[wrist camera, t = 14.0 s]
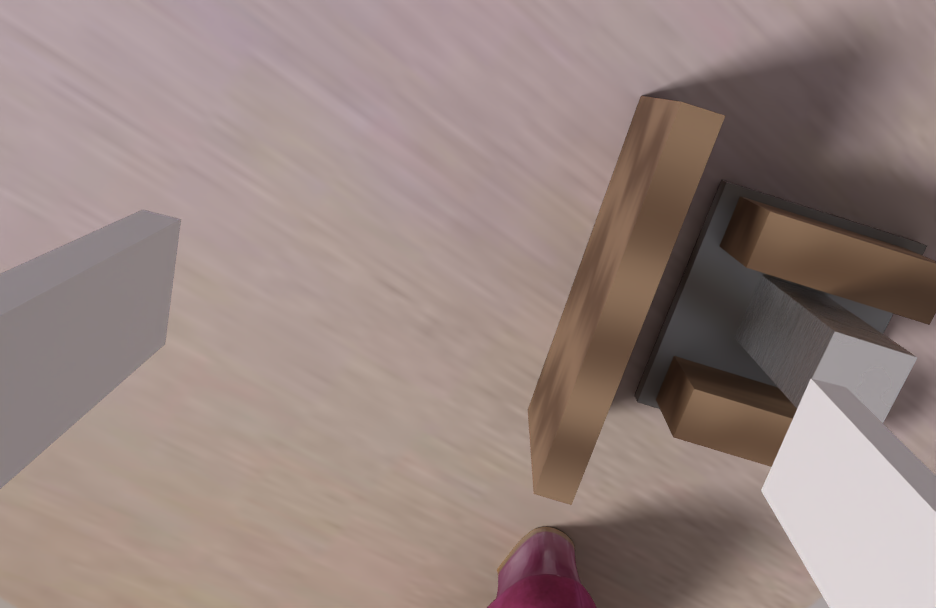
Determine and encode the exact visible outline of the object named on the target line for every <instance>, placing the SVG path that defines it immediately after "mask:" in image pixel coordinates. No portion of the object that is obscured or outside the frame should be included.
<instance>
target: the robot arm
mask: <svg viewBox="0 0 936 608" xmlns="http://www.w3.org/2000/svg"><path fill="white" fill-rule="evenodd" d="M180 223H181V219H178V218H174V217H170V216H166V215H162V214H158V213H154V212H150V211H146V210H141V211H139V212H136V213H134V214H132V215H130V216H128V217H125V218H123V219H121V220H119V221H116V222H114V223H112V224H110V225H108V226H105V227H103V228H101V229H99V230H96V231H94V232H92V233H90V234H88V235H85V236H83V237H81V238H79V239H76V240H74V241H72V242H70V243H68V244H65V245H63V246H61V247H59V248H56V249H54V250H52V251H50V252H48V253H45V254H43V255H41V256H39V257H36V258H34V259H32V260H30V261H28V262H25V263H23V264H21V265H19V266H16V267H14V268H12V269H10V270H8V271H5V272H3V273H1V274H0V489H1V488H2V487H3V486H4V485H5V484H6V483H8V482H9V481H10V480H11V479H12V478H13V477H14V476H16V475H17V474H18V473H19V472H20V471H21V470H22V469H24V468H25V467H26V466H27V465H28V464H29V463H30V462H32V461H33V460H34V459H35V458H36V457H37V456H38V455H39V454H41V453H42V452H43V451H44V450H45V449H46V448H47V447H49V446H50V445H51V444H52V443H53V442H54V441H55V440H57V439H58V438H59V437H60V436H61V435H62V434H63V433H65V432H66V431H67V430H68V429H69V428H70V427H71V426H72V425H74V424H75V423H76V422H77V421H78V420H79V419H80V418H82V417H83V416H84V415H85V414H86V413H87V412H88V411H90V410H91V409H92V408H93V407H94V406H95V405H96V404H98V403H99V402H100V401H101V400H102V399H103V398H104V397H105V396H107V395H108V394H109V393H110V392H111V391H112V390H113V389H115V388H116V387H117V386H118V385H119V384H120V383H121V382H123V381H124V380H125V379H126V378H127V377H128V376H129V375H131V374H132V373H133V372H134V371H135V370H136V369H137V368H138V367H140V366H141V365H142V364H143V363H144V362H145V361H146V360H148V359H149V358H150V357H151V356H152V355H153V354H154V353H156V352H157V351H158V350H159V349H160V348H161V347H162V346H164V345H165V341H166V333H167V325H168V317H169V309H170V302H171V294H172V286H173V278H174V270H175V262H176V254H177V247H178V239H179V231H180ZM761 491H762V493H763V495H764V496H765V498H766V500H767V502H768V503H769V505H770V507H771V508H772V510H773V512H774V513H775V515H776V517H777V519H778V520H779V522H780V524H781V525H782V527H783V529H784V531H785V532H786V534H787V536H788V537H789V539H790V541H791V543H792V544H793V546H794V548H795V549H796V551H797V553H798V554H799V556H800V558H801V560H802V561H803V563H804V565H805V566H806V568H807V570H808V572H809V573H810V575H811V577H812V578H813V580H814V582H815V584H816V585H817V587H818V589H819V590H820V592H821V594H822V595H823V597H824V599H825V601H826V602H827V604H828V606H829V607H830V608H936V475H935V474H934V473H933V472H932V471H931V470H930V469H929V468H927V467H926V466H925V465H924V464H923V463H922V462H921V461H920V460H919V459H918V458H917V457H916V456H915V455H914V454H913V453H912V452H911V451H910V450H909V449H908V448H907V447H906V446H905V445H904V444H903V443H902V442H901V441H900V440H899V439H898V438H897V437H896V436H895V435H894V434H893V433H892V432H891V431H890V430H889V429H888V428H887V427H886V426H885V425H884V424H883V423H882V422H881V421H880V420H879V419H878V418H877V417H876V416H875V415H874V414H873V413H872V412H871V411H870V410H869V409H868V408H867V407H866V406H865V405H864V404H863V403H862V402H861V401H860V400H859V399H858V398H857V397H855V396H854V395H853V394H852V393H851V392H850V391H849V390H848V389H847V388H846V387H843V386H839V385H835V384H831V383H827V382H823V381H819V380H815V379H810V381H809V383H808V386H807V388H806V390H805V393H804V395H803V397H802V399H801V402H800V404H799V406H798V408H797V411H796V413H795V415H794V417H793V420H792V422H791V424H790V427H789V429H788V431H787V433H786V436H785V438H784V440H783V442H782V445H781V447H780V449H779V451H778V454H777V456H776V458H775V460H774V463H773V465H772V467H771V470H770V472H769V474H768V476H767V479H766V481H765V483H764V485H763V488H762V490H761Z"/></svg>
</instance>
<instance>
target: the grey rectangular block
mask: <svg viewBox="0 0 936 608" xmlns="http://www.w3.org/2000/svg"><path fill="white" fill-rule="evenodd" d="M734 338H735V339H736V340H737V341H738V342H739V343H740V345H741V346H742V347H743V348H744V349H745V350H746V351H747V352H748V354H749V355H750V356H751V357H752V358H753V359H754V360H755V362H756V363H757V364H758V365H759V366H760V367H761V368H762V370H763V371H764V372H765V373H766V374H767V375H768V376H769V377H770V379H771V380H772V381H773V382H774V383H775V384H776V385H777V387H778V388H779V389H780V390H781V391H782V392H783V393H784V395H785V396H786V397H787V398H788V399H789V400H790V401H791V402H792V404H793V405H794V406H795V407H796V408H798V406H799V404H800V402H801V399H802V397H803V395H804V393H805V390H806V388H807V386H808V383H809V381H810V379H815V380H819V381H823V382H827V383H831V384H835V385H839V386H843V387H846V388H847V389H848V390H849V391H850V392H851V393H852V394H853V395H854V396H855V397H857V398H858V399H859V400H860V401H861V402H862V403H863V404H864V405H865V406H866V407H867V408H868V409H869V410H870V411H871V412H872V413H873V414H874V415H875V416H876V417H877V418H878V419H879V420H880V421H881V422H882V423H883V422H884V420H885V418H886V416H887V415H888V413H889V411H890V409H891V407H892V405H893V403H894V401H895V399H896V397H897V396H898V394H899V392H900V390H901V388H902V386H903V384H904V382H905V380H906V378H907V377H908V375H909V373H910V371H911V369H912V367H913V365H914V363H915V361H916V359H917V357H916V356H914V355H913V354H912V353H910V352H909V351H907V350H906V349H904V348H903V347H901V346H900V345H898V344H897V343H895V342H894V341H892V340H891V339H890V338H888V337H887V336H885V335H884V334H882V333H881V332H879V331H878V330H876V329H875V328H873V327H872V326H870V325H869V324H868V323H866V322H865V321H863V320H862V319H860V318H859V317H857V316H856V315H854V314H853V313H851V312H850V311H848V310H847V309H845V308H844V307H843V306H841V305H840V304H838V303H837V302H835V301H834V300H832V299H831V298H829V297H828V296H826V295H823V294H820V293H816V292H813V291H810V290H807V289H804V288H801V287H798V286H794V285H791V284H788V283H785V282H782V281H779V280H775V279H772V278H769V277H766V276H763V275H762V276H761V279H760V281H759V283H758V285H757V288H756V290H755V292H754V294H753V297H752V299H751V301H750V303H749V306H748V308H747V310H746V313H745V315H744V317H743V319H742V322H741V324H740V326H739V328H738V331H737V333H736V335H735V337H734Z"/></svg>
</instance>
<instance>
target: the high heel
mask: <svg viewBox="0 0 936 608" xmlns="http://www.w3.org/2000/svg"><path fill="white" fill-rule="evenodd" d="M497 572H498V592H497V597H496V599H495V600H494V601H493V602H492V603H491V604H490V605H489V606H488V607H487V608H596V606H595V603H594V601H593V600H592V598H591V596H590V595H589V593H588V592H587V590H586V589H585V588H584V586H583V585H582V584H581V582H580V579H579V576H578V572H577V568H576V562H575V548H574V544H573V542H572V540H571V539H570V538H569V537H568V536H567V535H566V534H565V533H563V532H561V531H559V530H557V529H555V528H551V527H540V528H536V529H534V530H532V531H531V532H529V533H528V534H527V535H526V536H524V537H523V538H522V539H521V540H520V542H519V543H518V544H517V545H516V546H515V547H514V548H513V550H512V551H511V552H510V553H509V555H508V556H507V557H506V558H505V560H504V561H503V562H502V564H501V565H500V566H499V568H498V569H497Z"/></svg>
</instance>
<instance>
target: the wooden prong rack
mask: <svg viewBox="0 0 936 608" xmlns="http://www.w3.org/2000/svg"><path fill="white" fill-rule="evenodd" d="M724 118H725V115H721V114H718V113H715V112H712V111H709V110H706V109H703V108H700V107H697V106H693V105H690V104H687V103H684V102H680V101H673V100H666V99H659V98H653V97H646V96H641V97H640V100H639V103H638V105H637V108H636V111H635V114H634V116H633V119H632V122H631V125H630V128H629V130H628V133H627V136H626V139H625V141H624V144H623V147H622V150H621V153H620V155H619V158H618V161H617V164H616V166H615V169H614V172H613V175H612V178H611V180H610V183H609V186H608V189H607V191H606V194H605V197H604V200H603V203H602V205H601V208H600V211H599V214H598V216H597V219H596V222H595V225H594V228H593V230H592V233H591V236H590V239H589V241H588V244H587V247H586V250H585V253H584V255H583V258H582V261H581V264H580V266H579V269H578V272H577V275H576V278H575V280H574V283H573V286H572V289H571V291H570V294H569V297H568V300H567V303H566V305H565V308H564V311H563V314H562V316H561V319H560V322H559V325H558V328H557V330H556V333H555V336H554V339H553V341H552V344H551V347H550V350H549V353H548V355H547V358H546V361H545V364H544V366H543V369H542V372H541V375H540V378H539V380H538V383H537V386H536V389H535V391H534V394H533V397H532V400H531V403H530V405H529V408H528V419H529V433H530V447H531V462H532V476H533V490H534V494H536V495H540V496H543V497H546V498H550V499H553V500H556V501H560V502H563V503H567V504H570V505H572V502H573V500H574V497H575V495H576V492H577V490H578V487H579V484H580V482H581V479H582V477H583V474H584V472H585V469H586V467H587V464H588V462H589V459H590V457H591V454H592V452H593V449H594V447H595V444H596V442H597V439H598V436H599V434H600V431H601V429H602V426H603V424H604V421H605V419H606V416H607V414H608V411H609V409H610V406H611V404H612V401H613V399H614V396H615V394H616V391H617V388H618V386H619V383H620V381H621V378H622V376H623V373H624V371H625V368H626V366H627V363H628V361H629V358H630V356H631V353H632V351H633V348H634V346H635V343H636V340H637V338H638V335H639V333H640V330H641V328H642V325H643V323H644V320H645V318H646V315H647V313H648V310H649V308H650V305H651V303H652V300H653V298H654V295H655V292H656V290H657V287H658V285H659V282H660V280H661V277H662V275H663V272H664V270H665V267H666V265H667V262H668V260H669V257H670V255H671V252H672V250H673V247H674V244H675V242H676V239H677V237H678V234H679V232H680V229H681V227H682V224H683V222H684V219H685V217H686V214H687V212H688V209H689V207H690V204H691V202H692V199H693V196H694V194H695V191H696V189H697V186H698V184H699V181H700V179H701V176H702V174H703V171H704V169H705V166H706V164H707V161H708V159H709V156H710V153H711V151H712V148H713V146H714V143H715V141H716V138H717V136H718V133H719V131H720V128H721V126H722V123H723V121H724ZM926 247H927V246H926V245H924V244H921V243H919V242H916V241H913V240H910V239H907V238H903V237H900V236H897V235H894V234H891V233H888V232H885V231H881V230H878V229H875V228H872V227H869V226H866V225H862V224H859V223H856V222H853V221H850V220H847V219H843V218H840V217H837V216H834V215H831V214H828V213H825V212H821V211H818V210H815V209H812V208H809V207H806V206H802V205H799V204H796V203H793V202H790V201H787V200H783V199H780V198H777V197H774V196H771V195H768V194H765V193H761V192H758V191H755V190H752V189H749V188H746V187H742V186H739V185H736V184H733V183H730V182H727V181H723V180H722V181H721V183H720V186H719V188H718V191H717V193H716V195H715V198H714V200H713V203H712V205H711V208H710V210H709V213H708V215H707V218H706V220H705V223H704V225H703V228H702V230H701V233H700V235H699V238H698V240H697V242H696V245H695V247H694V250H693V252H692V255H691V257H690V260H689V262H688V265H687V267H686V270H685V272H684V275H683V277H682V280H681V282H680V284H679V287H678V289H677V292H676V294H675V297H674V299H673V302H672V304H671V307H670V309H669V312H668V314H667V317H666V319H665V322H664V324H663V327H662V329H661V331H660V334H659V336H658V339H657V341H656V344H655V346H654V349H653V351H652V354H651V356H650V359H649V361H648V364H647V366H646V369H645V371H644V373H643V376H642V378H641V381H640V383H639V386H638V388H637V391H636V393H635V398H636V400H637V402H639V403H642V404H645V405H649V406H652V407H655V408H659V409H660V410H661V412H662V414H663V416H664V418H665V420H666V423H667V425H668V427H669V429H670V431H671V433H672V435H673V437H674V438H678V439H681V440H684V441H688V442H691V443H694V444H698V445H701V446H704V447H708V448H711V449H714V450H718V451H721V452H724V453H728V454H731V455H734V456H738V457H741V458H744V459H748V460H751V461H754V462H758V463H761V464H764V465H768V466H771V467H772V465H773V463H774V460H775V458H776V456H777V454H778V451H779V449H780V447H781V445H782V442H783V440H784V438H785V436H786V433H787V431H788V429H789V427H790V424H791V422H792V420H793V417H794V415H795V413H796V411H797V408H796V407H795V406H794V405H793V404H792V402H791V401H790V400H789V399H788V398H787V397H786V396H785V395H784V393H783V392H782V391H781V390H780V389H779V388H778V387H777V385H776V384H775V383H774V382H773V381H772V380H771V379H770V377H769V376H768V375H767V374H766V373H765V372H764V371H763V370H762V368H761V367H760V366H759V365H758V364H757V363H756V362H755V360H754V359H753V358H752V357H751V356H750V355H749V354H748V352H747V351H746V350H745V349H744V348H743V347H742V346H741V345H740V343H739V342H738V341H737V340H736V339H735V338H734V337H735V335H736V333H737V331H738V328H739V326H740V324H741V322H742V319H743V317H744V315H745V313H746V310H747V308H748V306H749V303H750V301H751V299H752V297H753V294H754V292H755V290H756V288H757V285H758V283H759V281H760V279H761V276H762V275H763V276H766V277H769V278H772V279H775V280H779V281H782V282H785V283H788V284H791V285H794V286H798V287H801V288H804V289H807V290H810V291H813V292H816V293H820V294H823V295H826V296H828V297H829V298H831V299H832V300H834V301H835V302H837V303H838V304H840V305H841V306H843V307H844V308H845V309H847V310H848V311H850V312H851V313H853V314H854V315H856V316H857V317H859V318H860V319H862V320H863V321H865V322H866V323H868V324H869V325H870V326H872V327H873V328H875V329H876V330H878V331H879V332H881V333H882V334H883V333H884V331H885V329H886V327H887V325H888V323H889V321H890V319H891V317H892V315H893V314H897V315H900V316H903V317H906V318H909V319H913V320H916V321H919V322H922V323H925V324H929V325H930V323H931V321H932V319H933V317H934V315H935V313H936V261H934V260H931V259H929V258H927V257H924V256H922V255H923V253H924V251H925V249H926Z"/></svg>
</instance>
